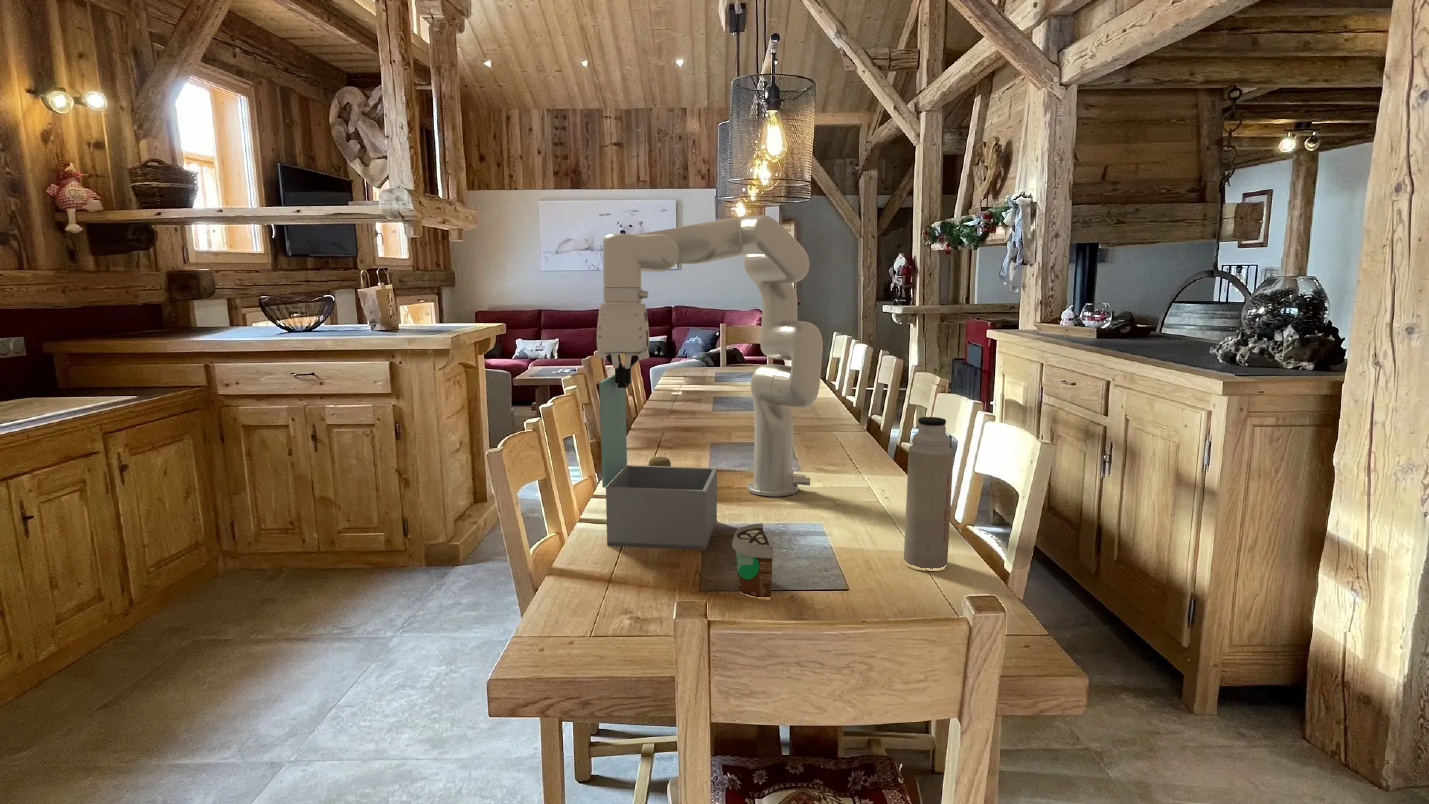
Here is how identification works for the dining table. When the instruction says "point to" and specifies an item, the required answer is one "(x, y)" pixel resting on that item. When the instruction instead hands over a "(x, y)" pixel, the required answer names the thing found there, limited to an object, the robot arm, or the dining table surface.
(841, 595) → the dining table surface
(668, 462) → the cork
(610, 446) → the lid
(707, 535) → the carton
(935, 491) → the thermos bottle
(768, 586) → the food container
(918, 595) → the dining table surface
